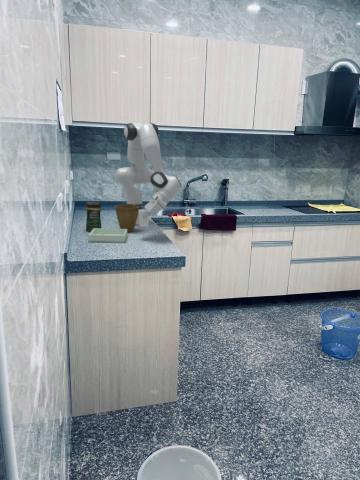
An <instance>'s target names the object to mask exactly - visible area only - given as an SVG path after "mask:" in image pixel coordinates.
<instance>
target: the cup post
mask: <svg viewBox="0 0 360 480" xmlns="http://www.w3.org/2000/svg"><path fill="white" fill-rule="evenodd" d="M147 212H148V211H147V210H145V209H143V210H139V225H138V226H139V227H140V228H142V227H144V228H146V227H147V228H149V225H150V224H149V219H150V216H148V217H147V218H146V219H144V218H143V216H144V215H145V214H146V213H147Z"/></svg>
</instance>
